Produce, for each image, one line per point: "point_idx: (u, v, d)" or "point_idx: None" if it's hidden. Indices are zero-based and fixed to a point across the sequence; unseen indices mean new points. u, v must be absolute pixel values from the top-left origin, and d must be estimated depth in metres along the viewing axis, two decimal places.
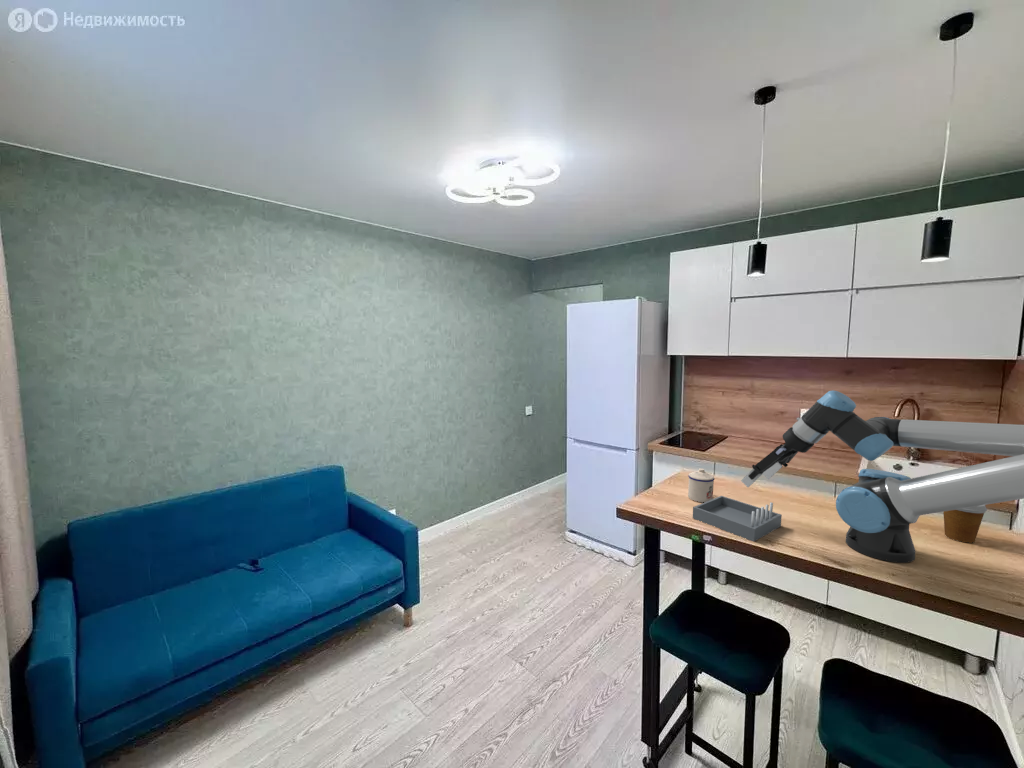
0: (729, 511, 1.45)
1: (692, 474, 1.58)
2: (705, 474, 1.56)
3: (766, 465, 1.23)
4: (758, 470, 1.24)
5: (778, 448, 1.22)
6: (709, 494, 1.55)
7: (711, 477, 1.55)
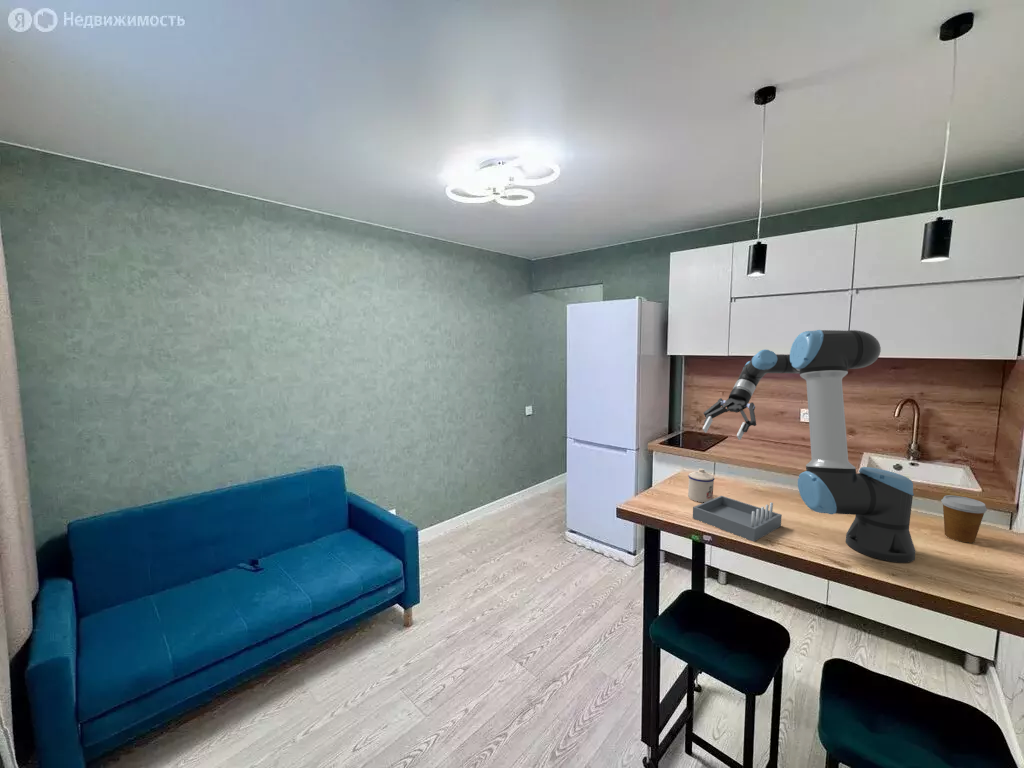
0: (729, 511, 1.45)
1: (692, 474, 1.58)
2: (705, 474, 1.56)
3: None
4: None
5: None
6: (709, 494, 1.55)
7: (711, 477, 1.55)
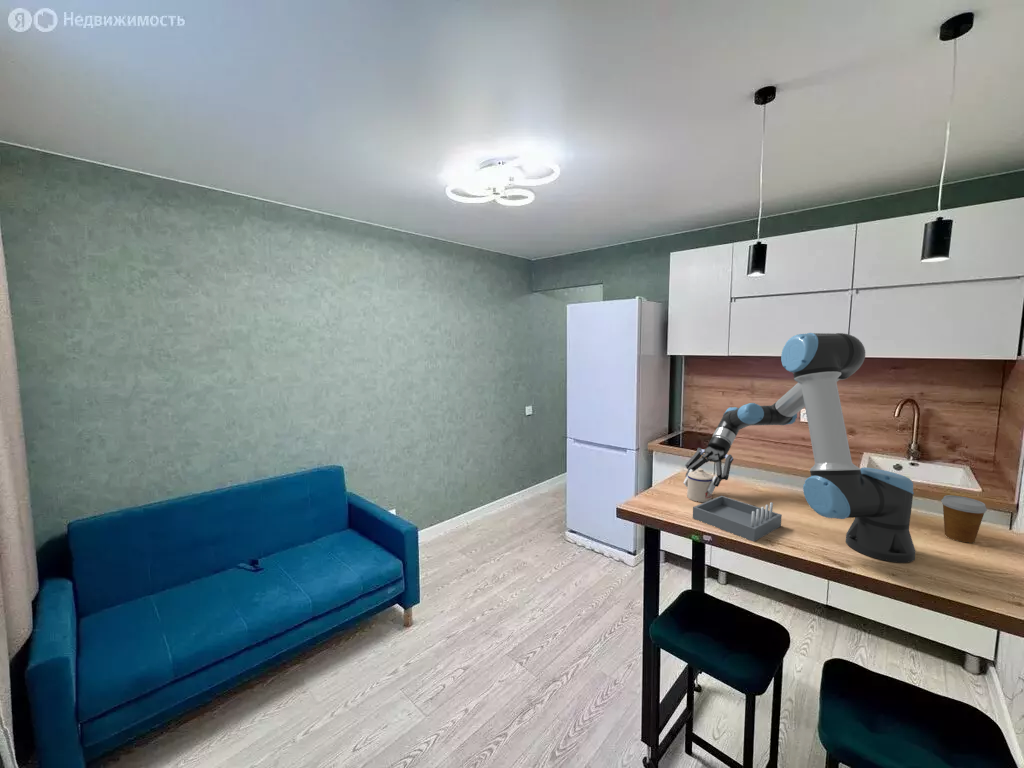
0: (729, 511, 1.45)
1: (691, 474, 1.58)
2: (704, 474, 1.56)
3: None
4: None
5: None
6: (708, 494, 1.55)
7: (710, 477, 1.55)
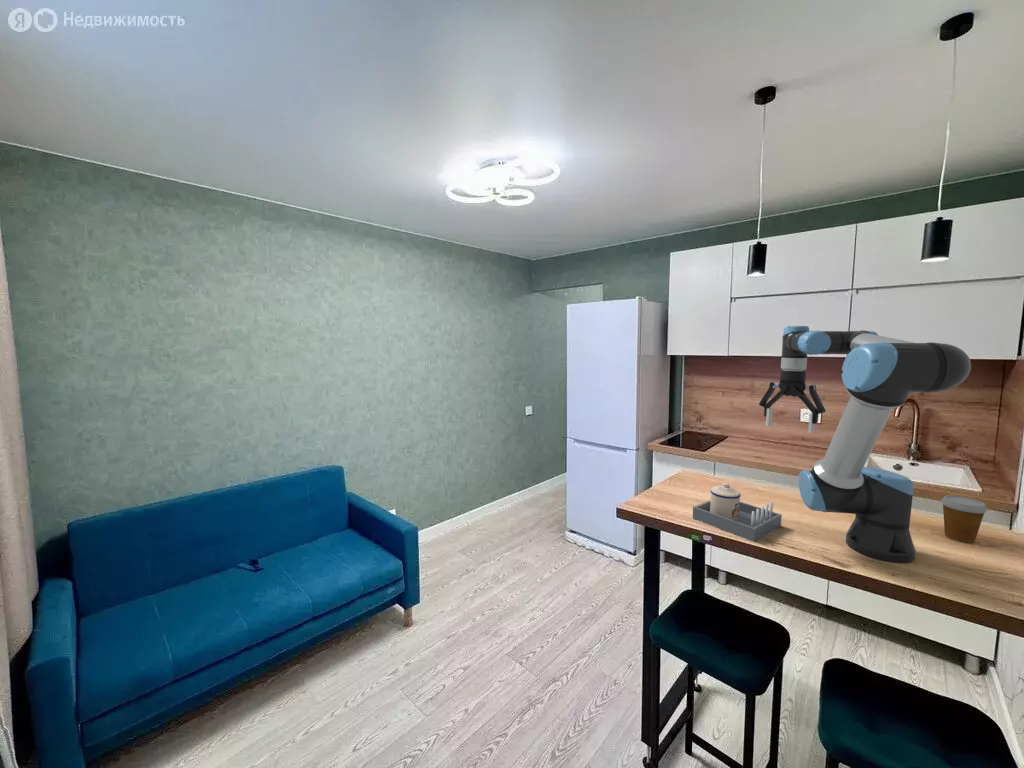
0: None
1: (715, 489, 1.39)
2: (730, 490, 1.37)
3: None
4: None
5: None
6: (735, 512, 1.36)
7: (737, 493, 1.36)
